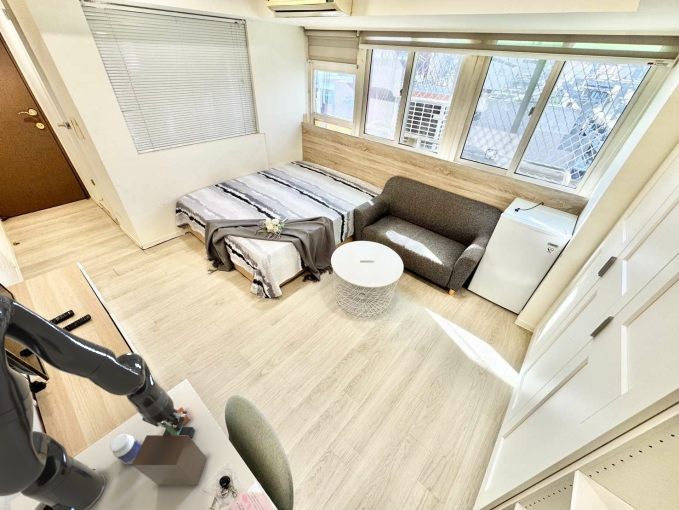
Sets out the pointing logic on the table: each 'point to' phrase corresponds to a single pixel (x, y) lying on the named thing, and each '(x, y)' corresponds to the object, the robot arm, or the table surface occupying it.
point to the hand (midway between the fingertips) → (175, 428)
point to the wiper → (183, 431)
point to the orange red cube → (185, 416)
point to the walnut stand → (170, 460)
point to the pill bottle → (125, 448)
